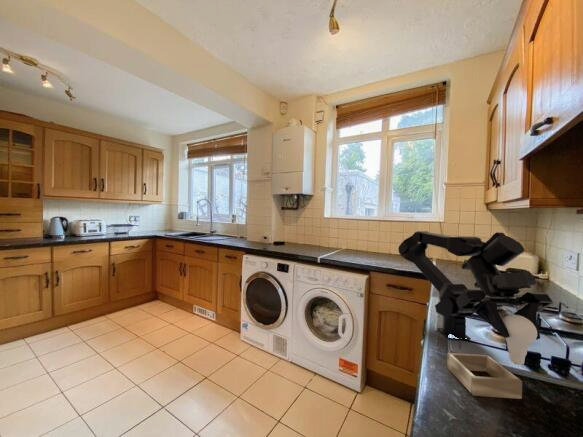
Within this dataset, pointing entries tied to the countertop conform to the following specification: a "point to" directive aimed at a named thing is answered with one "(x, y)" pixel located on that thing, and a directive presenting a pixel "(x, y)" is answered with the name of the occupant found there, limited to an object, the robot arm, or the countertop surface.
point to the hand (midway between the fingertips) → (522, 338)
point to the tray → (493, 386)
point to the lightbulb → (519, 337)
